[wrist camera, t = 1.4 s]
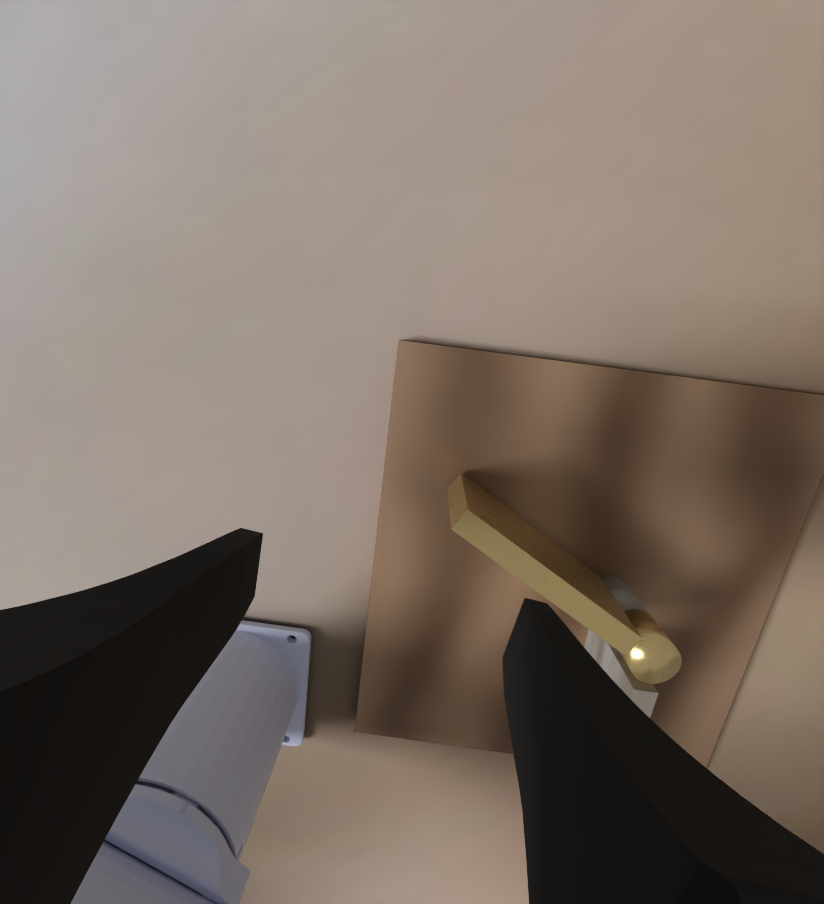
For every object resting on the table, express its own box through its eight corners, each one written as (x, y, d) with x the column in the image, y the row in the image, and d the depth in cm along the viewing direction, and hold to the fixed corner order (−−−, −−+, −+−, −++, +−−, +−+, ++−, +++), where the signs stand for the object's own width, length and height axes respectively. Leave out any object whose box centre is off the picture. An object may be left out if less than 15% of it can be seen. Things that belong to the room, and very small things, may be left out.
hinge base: (356, 719, 26) (336, 821, 20) (400, 339, 20) (387, 342, 15) (693, 766, 26) (762, 882, 20) (836, 396, 20) (989, 420, 14)
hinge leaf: (611, 621, 22) (655, 692, 18) (440, 495, 21) (442, 538, 16) (640, 594, 22) (692, 660, 17) (467, 464, 20) (476, 499, 16)
